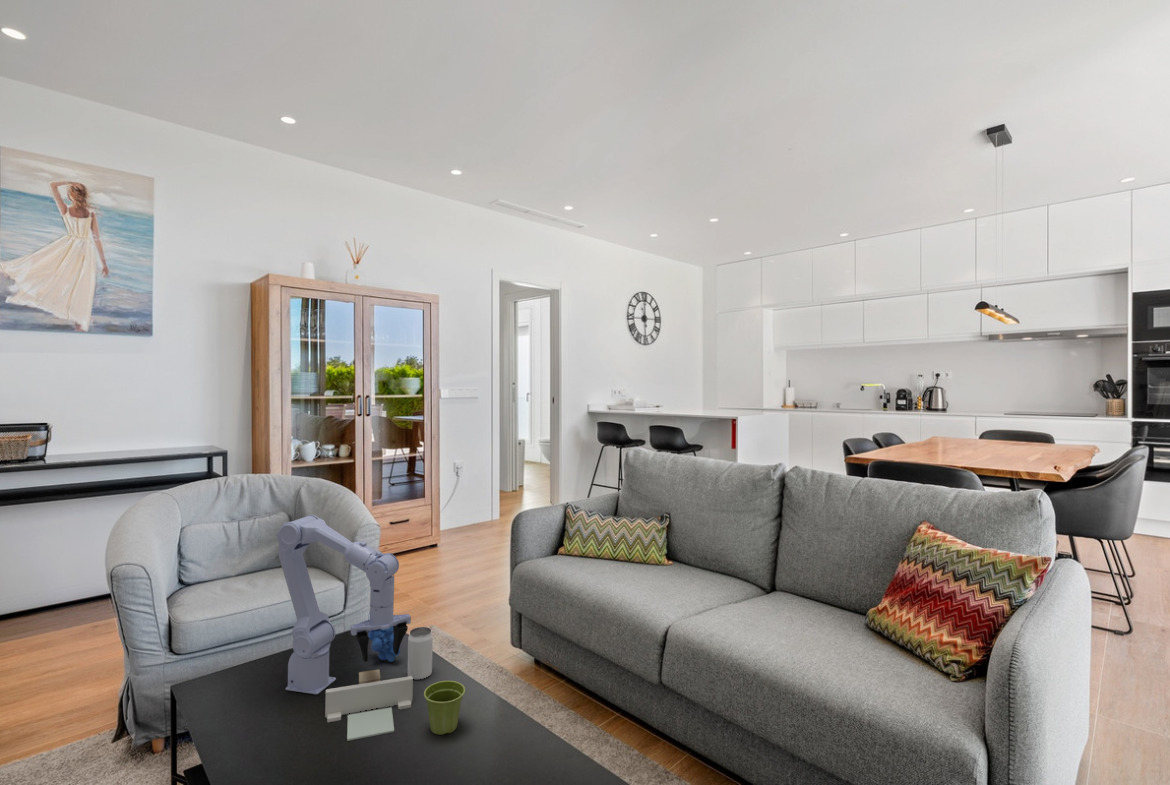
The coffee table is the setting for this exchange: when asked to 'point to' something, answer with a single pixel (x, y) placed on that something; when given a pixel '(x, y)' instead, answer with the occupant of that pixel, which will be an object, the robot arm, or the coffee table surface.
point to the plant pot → (444, 705)
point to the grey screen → (368, 697)
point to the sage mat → (370, 724)
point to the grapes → (383, 643)
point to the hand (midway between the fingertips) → (380, 656)
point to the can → (420, 653)
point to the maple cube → (369, 676)
